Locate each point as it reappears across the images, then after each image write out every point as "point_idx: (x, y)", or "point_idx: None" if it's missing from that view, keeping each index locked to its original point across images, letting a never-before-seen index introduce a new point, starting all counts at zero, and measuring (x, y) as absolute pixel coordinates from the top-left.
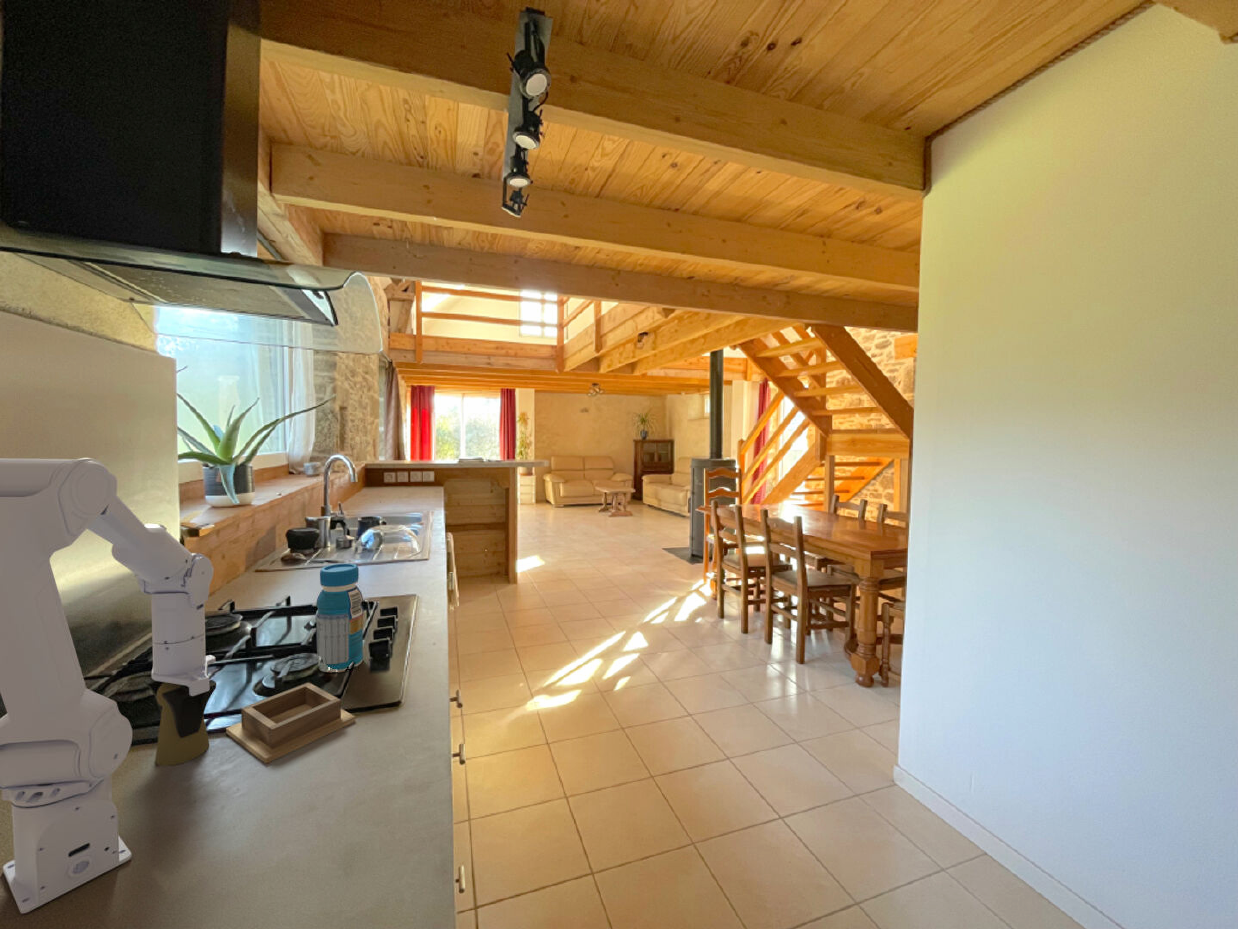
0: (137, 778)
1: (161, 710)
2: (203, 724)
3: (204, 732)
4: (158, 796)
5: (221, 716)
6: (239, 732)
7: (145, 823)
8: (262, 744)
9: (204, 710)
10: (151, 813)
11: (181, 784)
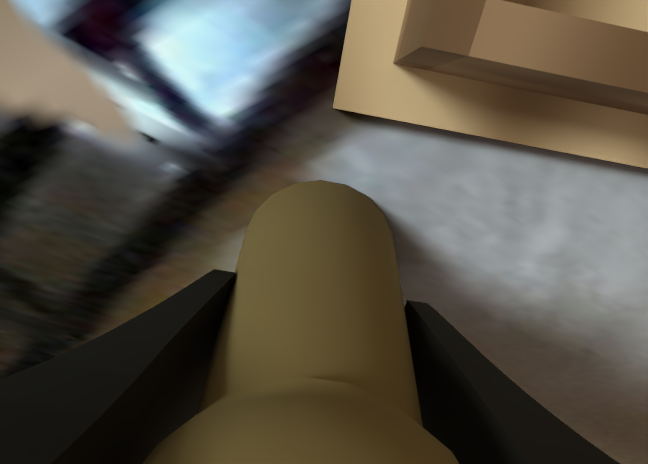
0: None
1: (192, 417)
2: (379, 258)
3: (383, 243)
4: None
5: (146, 15)
6: (434, 104)
7: None
8: (627, 120)
9: (510, 380)
10: None
11: (483, 332)
